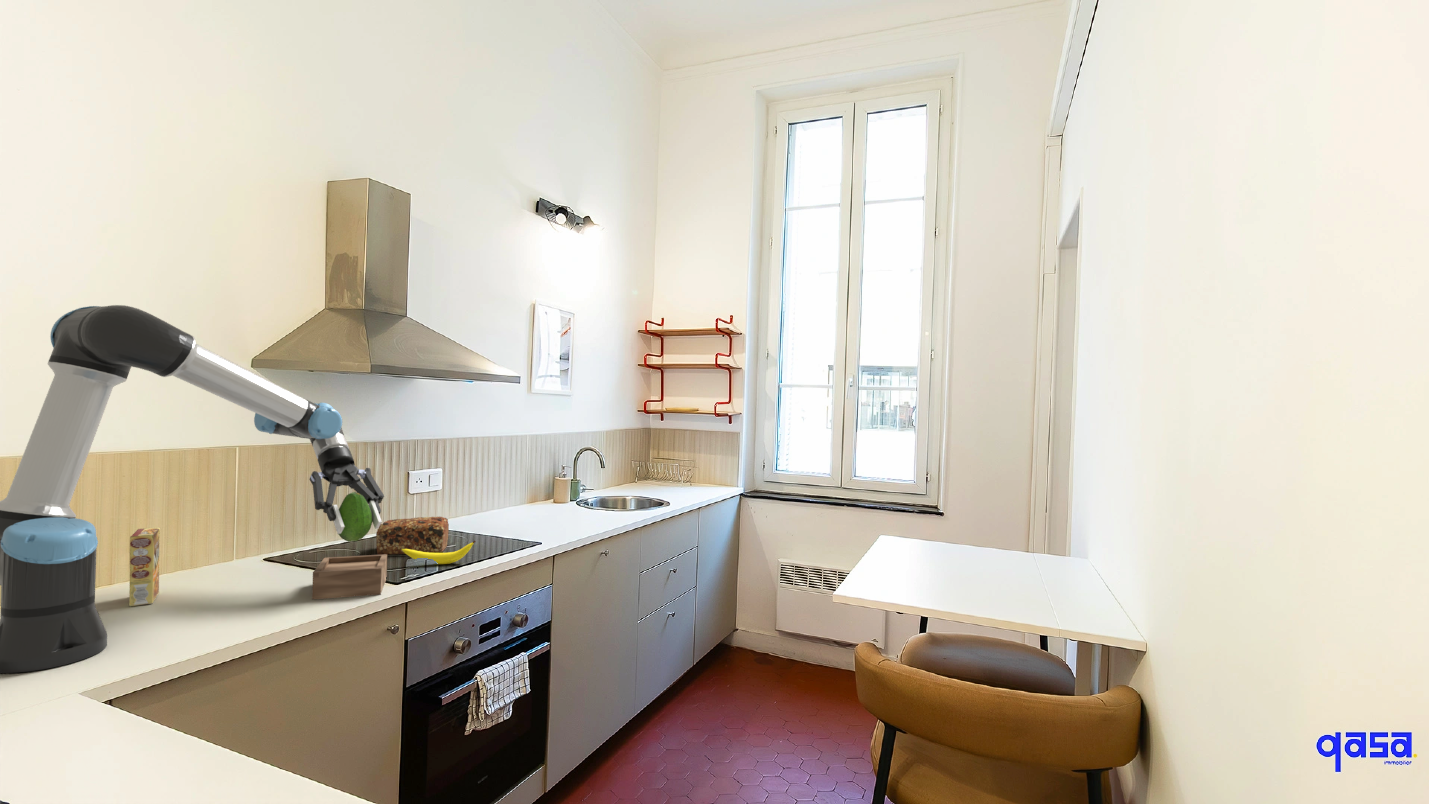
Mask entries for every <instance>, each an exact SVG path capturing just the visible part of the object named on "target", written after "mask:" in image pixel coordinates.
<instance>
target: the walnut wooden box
mask: <svg viewBox="0 0 1429 804" xmlns="http://www.w3.org/2000/svg"><path fill="white" fill-rule="evenodd" d="M387 575H388V554H384V555H379V554H371V555H370V554H369V555H350V556H349V555H348V556H330V557H324V558H322V561H320V563H319V564H318V565H317V567H316V568H315V569H314V570H313V571H312V589H311V590H312V593H311V594H312V597H311V598H312V600H324V599H325V600H326V599H336V598H349V597H350V598H351V597H353V598H354V597H365V596H379V595H381V594H382V592H383V589H384V587H385V585H386V581H387V579H386V577H388V576H387Z"/></svg>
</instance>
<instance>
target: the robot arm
mask: <svg viewBox="0 0 1429 804" xmlns="http://www.w3.org/2000/svg"><path fill="white" fill-rule="evenodd" d="M49 337H50V343H51V345H52V347H53V348H52V352H51V353H50V357H49V359H48V361H47V365H48V367H49V368H50V369H51V371H52V372H53V374H54V376H53V377H52V380H51V384H50V387H49V389H48V392H47V394H46V397H45V398H44V401H43V403H42V406H41V409H40V412H39V414H38V416H37V419H36V421H35V424H34V426H33V429H32V432H31V434H30V436H29V439H28V442H27V444H26V447H25V449H24V452H23V455H22V457H21V459H20V462H19V464H18V467H17V469H16V472H15V475H14V476H13V479H12V482H11V485H10V488H9V490H8V493H7V494H6V497H5V498H3V499H2V500H0V586H1V590H0V674H12V673H13V674H16V673H28V672H34V671H40V670H46V669H51V668H57V667H60V666H64V665H68V664H72V663H75V662H78V661H82V660H86V659H88V658H90V657H93V656H95V655H97V654H99V653H100V652H102V651H104V650H105V649H107V646H108V633H107V630H106V627H105V625H104V622H103V621H102V618H101V616H100V614H99V612H98V609H97V607H96V578H97V575H96V574H97V547H98V544H99V541H98V537H97V529H96V527H95V525H94V524H93V523H91V522H90V521H87V520H86V519H81V518H77V514H76V513H75V512H74V511H73V509H72V508H71V506H70V504H71V502H72V498H73V495H74V494H75V490H76V488H77V485H78V482H79V480H80V476H81V474H82V471H83V469H84V466H85V463H86V461H87V458H88V455H89V453H90V451H91V447H92V445H93V442H94V440H95V437H96V435H97V431H98V429H99V426H100V423H101V420H102V418H103V415H104V413H105V410H106V407H107V404H108V401H109V399H110V396H111V394H112V391H113V388H115V386H118V385H120V384H122V383H125V382H126V381H127V379H128V376H129V374H130V372H131V368H137V369H141V370H144V371H148V372H149V373H150V372H151V373H153V374H155V375H158V376H160V377H162V378H167V377H171V376H173V377H175V378H177V379H180V380H182V381H184V382H185V383H187V384H190V385H193V386H195V387H197V388H200V389H201V390H204V391H206V392H208V393H211V394H213V395H215V396H217V397H219V398H221V399H224V400H226V401H228V402H231V403H233V404H235V405H237V406H240V407H242V408H244V409H246V410H248V411H251V412H252V413H255V414H254V418H253V422H254V427H255V429H256V430H257V431H259V432H262V433H267V434H270V435H272V434H273V435H279V436H287V437H295V438H301V439H308V440H309V441H310V444H311V446H312V448H313V451H314V454H315V457H316V459H317V462H318V466H319V468H320V472H319V471H316V470H315V471H312V473H311V474H310V476H309V481H310V483H311V484H312V490H313V491H312V492H313V500H314V501H313V502H314V509H315V510H316V511H321V510H322V511H323V513H324V514H326V516H327V519H328V521H330V522H333V525H334V528H335V531H336V533H337V535H338V534H341V533H342V531H343V529H344V527H345V526H344V523H343V520H342V518H341V515H340V512H339V506H338V504H334V499H335V496H336V495H335V494H336V491H337V487H342V486H346V487H347V486H348V487H349V488H350V489H352V490H354V492H357V493H359V494H361V495H362V496H363V497H364V498H365V500H366V501H367V503H368V505H369V508H370V510H371V513H372V525H373V527H374V529H376V530H377V529H378V528H379V526H380V524H383V521H382V520H383V519H382V518H381V515H380V514H381V512H382V509H381V506H380V504H381V503H382V501H383V500H384V498H385V495H384V493H383V492H382V490H381V488H380V487H379V485H378V483H377V482H376V480H375V478H374V477H373V475H372V469H371V468H369V467H366V468H365V469H359V467H357V466H356V464H355V459H354V457H353V454H352V451H351V450H350V447H349V443H348V441H347V439H346V436H345V434H344V431H343V428H342V426H343V419H342V415H341V414H340V412H339V411H338V410H337V409H335V408H334V407H333V406H332V405H331V404H329V403H327V402H319V403H317V402H316V403H315V402H313V401H311V400H308V399H305V397H302V396H301V395H299V394H296V393H295V392H292V391H291V390H288V389H286V388H284V387H283V386H281V385H279V384H277V383H274V382H273V381H271V380H268V379H267V378H265V377H264V376H260V375H259V374H257V373H254V372H253V371H251V370H249V369H247V368H245V367H243V366H241V365H239V364H238V363H235V362H233V361H231V360H229V359H227V358H226V357H223V356H222V355H219V354H218V353H215V352H214V351H212V350H210V349H208V348H205V347H204V346H202V345H200V344H198V343H197V341H196V338H195V336H193V335H191V334H190V333H188V332H186V331H183V330H182V329H180V328H178V327H176V326H174V325H173V324H170V323H169V322H167V321H165V320H163V319H161V318H159V317H157V316H155V315H153V314H151V313H149V312H147V311H144V310H142V309H140V308H137V307H133V306H128V305H122V304H121V305H120V304H113V305H106V306H105V305H104V306H98V305H93V306H92V305H91V306H90V305H89V306H83V307H79V308H76V309H73V310H70V311H68V312H67V313H65V314H63V315H61V316H60V317H59V318H58V319H57V320H56V321H55V322H54V324H53V326H52V328H51V331H50V336H49ZM323 479H324V480H325V481H327V483H329V485H328V491H327V494H326V500H324V491H323V489H324V488H323V483H322V480H323ZM361 480H363V482H362V481H361Z"/></svg>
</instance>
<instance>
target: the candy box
mask: <svg viewBox="0 0 1429 804" xmlns="http://www.w3.org/2000/svg"><path fill="white" fill-rule="evenodd" d="M160 529H161V527H148V528H138V529H137V530H136V531H134V533H133V534H132V535H130V536H129V595H128V596H129V601H128V602H129V604H128V606H129V607H135V606H143V605H152V604H153V603H154V602H155V600H156V598H157V596H158V595H159V594H160V536H161V535H160V533H161V532H160V531H161V530H160Z"/></svg>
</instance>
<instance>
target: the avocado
mask: <svg viewBox="0 0 1429 804" xmlns="http://www.w3.org/2000/svg"><path fill="white" fill-rule="evenodd" d="M338 509H339V512H340V515H341V518H342V520H343V523H344V526H345V527H344V529H343V531H342V533H341V534H337V535H339V537H340V538H341V539H342V540H344V541H346V542H349V543H350V542H357V541H359V540H361V539H363V538H365V536H366V535H367V534H368V533H369V532H370V530H371V528H372V525H373V522H372V513H371V510H370V508H369V504H368V503H367V501H366V500H365V498H364V497H363V496H362V495H361V494H359V493H357V492H356V491H353V492H350V493H348V494H346V496H345V497H344V498H343V500H342V502H341V504H340V506H339V507H338Z"/></svg>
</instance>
